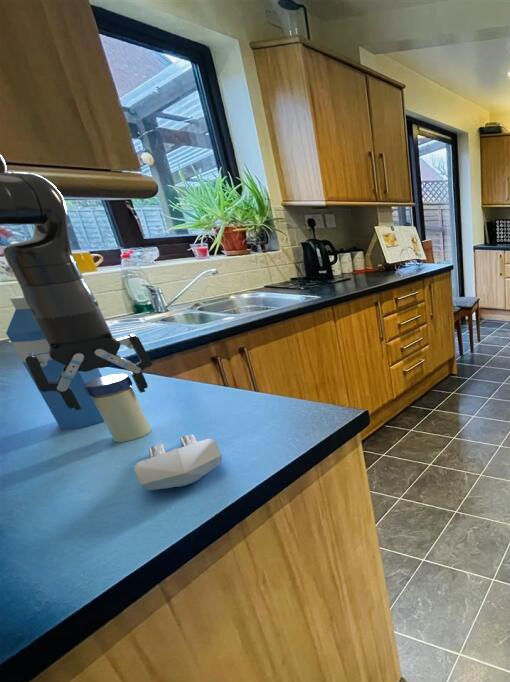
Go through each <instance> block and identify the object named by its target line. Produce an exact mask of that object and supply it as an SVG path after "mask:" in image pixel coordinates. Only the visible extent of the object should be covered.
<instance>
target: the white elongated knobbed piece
mask: <svg viewBox="0 0 510 682" xmlns="http://www.w3.org/2000/svg"><path fill="white" fill-rule="evenodd" d="M179 442H180V443H181V445H182V446H181V447H178V448H173V449H172V450H170V451H167V450H166V447H165V445H164V444H163V443H161V444H159V443H158V444H155V445H154V446H153V445H152V446H150V447H148V453H149V458H146V459H142V460H139V461H137V463H136V464H135V465H134V467H133V470H134V472H135V474H136V477H137V479H138V481H139V483H140V485H141V486H142V487H143V488H144V489H145V490H147V491H154V490H162V489H169V488H170V489H171V488H174V487H175V488H176V487H177V488H180V487H185V486H186V487H187V486H188V485H191V484H193V483H196V482H198V481H199V480H201V479H202V477H203V476H205V475H207V474H208V473H209V472H211V471H212V470H214V469H215V468H217V467H218V466H220V465H221V464H222V454H221V453H222V452H221V451H220V449H219V446H218V444H217V441H216V440H215V439H213V438H205V439H202V440H199V441H198V439H197V438H196V436H195V435H194V434H193V433H191V434H186V435H183V436H182V437H180V438H179Z"/></svg>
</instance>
